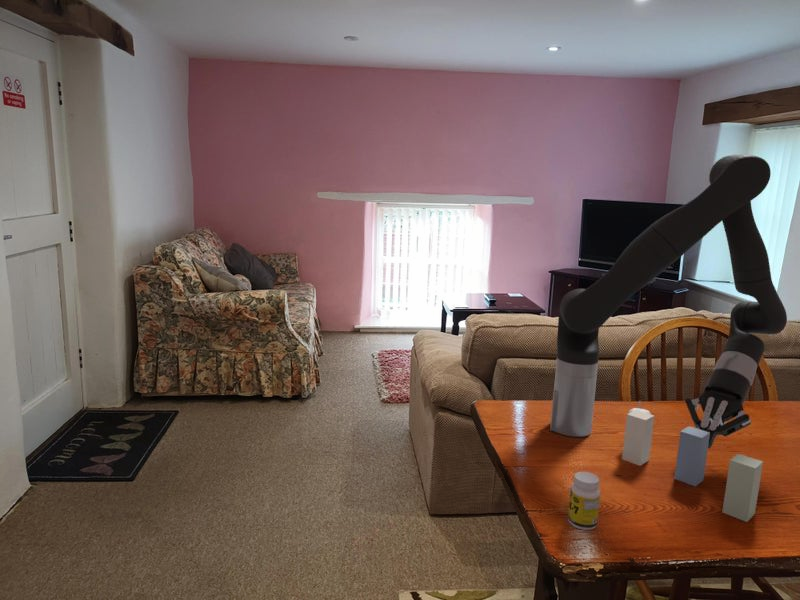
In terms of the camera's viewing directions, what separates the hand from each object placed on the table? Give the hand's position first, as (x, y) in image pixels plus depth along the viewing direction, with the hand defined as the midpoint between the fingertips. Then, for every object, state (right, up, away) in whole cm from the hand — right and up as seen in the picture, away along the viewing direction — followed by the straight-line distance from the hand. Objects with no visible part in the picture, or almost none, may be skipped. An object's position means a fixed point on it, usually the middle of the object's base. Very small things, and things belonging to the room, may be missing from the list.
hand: (701, 447), depth 119 cm
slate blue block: (-4, -6, -2) cm, 7 cm away
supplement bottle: (-30, -8, -19) cm, 36 cm away
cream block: (-11, -4, +6) cm, 13 cm away
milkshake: (-9, -3, +12) cm, 15 cm away
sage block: (-1, -8, -14) cm, 16 cm away
